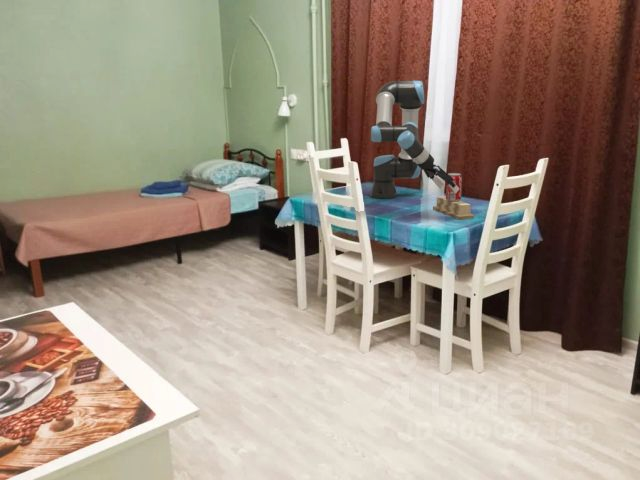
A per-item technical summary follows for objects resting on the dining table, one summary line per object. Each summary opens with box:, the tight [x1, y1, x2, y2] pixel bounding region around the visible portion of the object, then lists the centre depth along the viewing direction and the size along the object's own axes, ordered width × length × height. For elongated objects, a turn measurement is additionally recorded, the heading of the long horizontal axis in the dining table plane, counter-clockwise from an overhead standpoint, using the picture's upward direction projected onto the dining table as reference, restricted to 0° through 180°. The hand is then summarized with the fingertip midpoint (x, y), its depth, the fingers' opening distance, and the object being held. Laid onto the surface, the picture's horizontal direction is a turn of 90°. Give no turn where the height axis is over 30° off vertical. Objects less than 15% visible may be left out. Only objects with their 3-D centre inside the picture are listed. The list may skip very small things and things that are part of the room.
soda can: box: [445, 172, 463, 202], centre depth 248 cm, size 7×7×13 cm
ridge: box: [432, 195, 475, 221], centre depth 251 cm, size 24×8×6 cm, turn 18°
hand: (449, 188), depth 247 cm, fingers open, 13 cm apart
